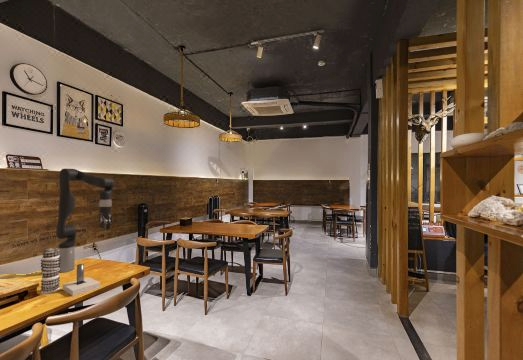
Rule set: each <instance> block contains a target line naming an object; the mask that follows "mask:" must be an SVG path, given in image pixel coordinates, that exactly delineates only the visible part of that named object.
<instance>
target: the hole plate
mask: <svg viewBox="0 0 523 360" xmlns="http://www.w3.org/2000/svg"><path fill="white" fill-rule="evenodd" d="M99 288H101V282H100V281H98V280H96V279H93V278H91V277H90V276H89V277H88V276H87V277H84V283H82V284H79V285H77V280H74V281H70V282H67V283H66V282H65V283H63V284H62V285H61V290H63V291H65V293H67V294H68V295H70V296H72V297H74V296H78V295H80V294H83V293H87V292H90V291H93V290H96V289H99Z"/></svg>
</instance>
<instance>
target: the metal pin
mask: <svg viewBox="0 0 523 360" xmlns="http://www.w3.org/2000/svg"><path fill="white" fill-rule="evenodd" d="M84 278H85V264H84V263H80V264H77V265H76V281H77V285H79V284H82V283H84Z"/></svg>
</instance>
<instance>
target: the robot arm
mask: <svg viewBox="0 0 523 360" xmlns="http://www.w3.org/2000/svg"><path fill="white" fill-rule="evenodd" d="M58 177H59V178H58V180H59V200H58V217H57V222H56V230H55V236H56V238H57V239H59V240H61V239H66V240H64V241H62V242H61V243H59V244H58V249H59V255H60V257H61V258H60V259H61V261H59V262H60V263H61V264H59V265H60V267H59V268H60V270H59V273H67V272H71V271H74V270H75V253H76V251H75V249H76V245H75V244H76V239H77V238H76V237H77V227H76V225H74V224H68V225H67V224H66V222H67V220H68V218H69V217H70V215H71V213H73V211H74V209H75V206H76V205H75V204H76V198H75V196H74V194H73V192H72V191H71V188H70V182H75V181H76V182H77V181H78V182H83V183H85V184H88V185H91V186H95V187H98V188H100V189H101V188H102V189H103V188H104V189H103V190H102V191H100V192H99V201H98V212H99V213H98V222H99V224H100V229H104V228H105V229H106V230H111V224H113V214H111V213H112V211H113V210H112V206H113V205H112V204H113V203H112V202H113V201H112V193H113V190H114V186H115V180H114V179H113V178H111V177H101V176H99V175H94V174H91V173H90V174H89V173H86V172H83V171H80V170H79V169H75V168H62V169H61V170H60V171H59V175H58Z"/></svg>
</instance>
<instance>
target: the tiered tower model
mask: <svg viewBox="0 0 523 360" xmlns="http://www.w3.org/2000/svg"><path fill="white" fill-rule="evenodd" d="M41 253H42V258H41V259H40V268H41V269H40V270H41V274H42V277H41V281H40V282H41V283H40V284H41V286H40V291H41V294H45V295H46V294H51V293H55V292H58V291H59V290H60V287H61V285H60V284H61V283H60V280H61V277H60V272H59V270H60V268H59V267H60V265H59V264H61V263H60V262H59V261H61V259H60V258H61V257H60V255H59V247H48V248H45V249H44V250H43V251H42V252H41Z"/></svg>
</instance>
